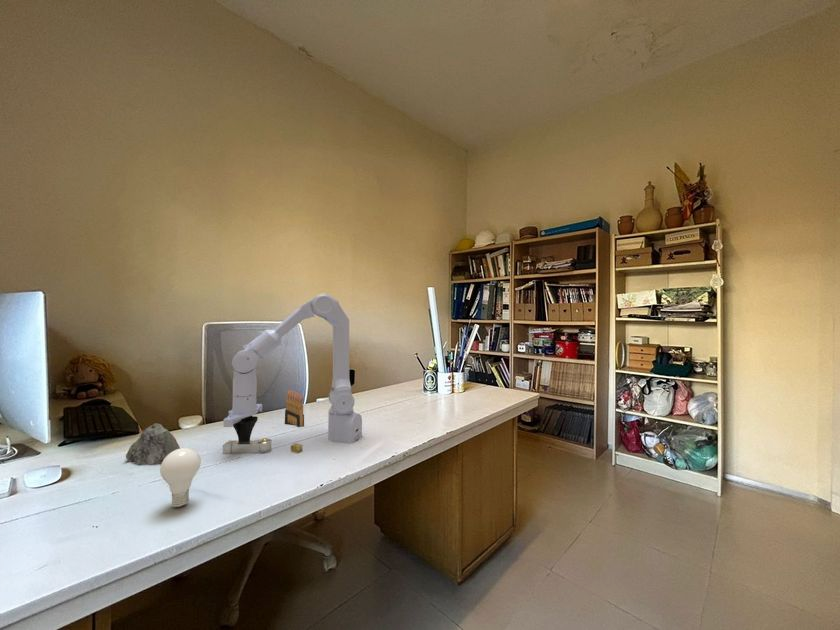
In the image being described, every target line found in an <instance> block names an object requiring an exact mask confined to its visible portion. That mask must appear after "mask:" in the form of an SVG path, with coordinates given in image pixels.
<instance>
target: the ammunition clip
mask: <svg viewBox="0 0 840 630" xmlns="http://www.w3.org/2000/svg"><path fill="white" fill-rule="evenodd" d="M284 425H288V426H296V427H297V428H302V427H303V428H304V427H305V414H304V404H303V394H302V393H300V392H297V391H294V390H291V389H288V390H287V392H286V402H285V409H284Z"/></svg>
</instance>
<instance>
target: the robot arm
mask: <svg viewBox="0 0 840 630" xmlns="http://www.w3.org/2000/svg"><path fill="white" fill-rule="evenodd" d="M315 315H316V317H318V318H322V319H324V320H325V321H326V323H328V324H329V325H331V326H332V381H331V388H330V389H331V390H330V392H329V394H328V401H329V403H330V405H331V407H330V408H329V409H328V418H327V419H328V420H327V421H328V423H327V425H328V426H327V433H328V434H327V435H328V436H327V439H328V441H331V442H333V443H335V442H336V443H346V444H347V443H348V444H353V443H354V442H356V441H357V440H359V439H361V438H362V437H363V418H362V415H361V414H360V413H357V412H356V411H354V406H355V397H354V396H353V394H352V386H351V381H350V319H349V316H347V314H346V313H345V311H344V309H343V308H342V307H341V305H340V303H339V301H338V300H337V299H336V298H334V297H333V296H332V295H329V294H328V293H319V294H318V295H316V296H315V297H313V299H310V300H309V301H307V302H305V303H304V304H301V305H300V306H299V307H298V308H297V309H295V310H294V311H293V312H292V313H291V314H290V315H289V316H287V317H286V318H285V319H284V320H283V321H281V322H280V324H278V325H277V326H276V327H275V328H273V329H265V330H264V331H262V330H259V332H257V336H256V337H255V338H254V339H253V340H251V341H250V342H249V343H248V344H247V343H246V344H244V345H243V346H242V348H243V350H239V351H237V353H236V354H235V355H234V356H233V357H232V360H231V365H232V368H233V373H232V374H233V378H232V404H231V405H232V409H230V410H228V415H227V417H225V418H223V428H232V427H233V428H234V430H235V433H236V435H237V438H238V439H237V441H251V435H252V432H253V430H254V427H255V425H256V424H257V422H258V416H256V415H257V413H259V412H262V411H263V404H262V403H257V393H258V392H257V391H258V390H257V389H258V386H257V385H258V384H257V383H258V382H257V381H258V380H257V379H258V376H257V365H258V363H259V361H263V360H265V359H266V358H267V357H268V356H270V354H272V353H273V352H274V351H275V350H276V349H278V348H279V347H280V346H281V345H282V338H283V337H284V336H285V335H286V334H288V333H289V332H290V331H291V330H293V329H294V328H295V327H297V326H298V325H299V324H300V323H301V322H302V321H304V320H306V319H310V318H315ZM254 415H255V416H254Z"/></svg>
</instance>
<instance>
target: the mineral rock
mask: <svg viewBox="0 0 840 630" xmlns="http://www.w3.org/2000/svg"><path fill="white" fill-rule="evenodd" d="M180 448H181V447H180V445H179V443H178V441H177V439H176V437H175V436H174V434H172V433H171V432H170V431H169V430H168V429H167V428H164V426H163V425H162V424H160V423H153V424H152V425H149V426H148V427H146V428H145V429H143V430H142V432H141V434H140V435H139V437H138V439H137V440H136V441H135V442H132V444H131V445H130V446H129V448H128V450H127V453H126V454H125V458H126V460H128V461H129V462H130V463H133V464H135V465H137V466H145V465H146V466H152V465H155V466H156V465H161V464H162V462H163V460H164V458H165V457H166V456H167V455H168V454H169V453H171V452H172V451H174V450H176V449H180Z"/></svg>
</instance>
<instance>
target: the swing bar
mask: <svg viewBox="0 0 840 630" xmlns="http://www.w3.org/2000/svg"><path fill="white" fill-rule="evenodd" d="M270 452H272V439H271V438H266V437H265V438H262V439H260V440H250V441H238V440H228V441H227V442H225V443H224V444H222V454H223V455H225V454H227V455H228V454H266V453H267V454H268V453H270Z"/></svg>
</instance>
